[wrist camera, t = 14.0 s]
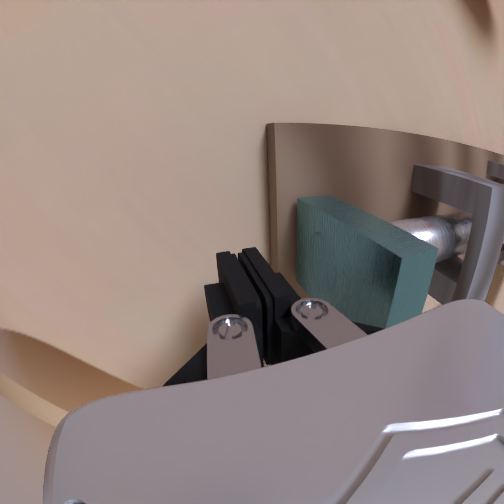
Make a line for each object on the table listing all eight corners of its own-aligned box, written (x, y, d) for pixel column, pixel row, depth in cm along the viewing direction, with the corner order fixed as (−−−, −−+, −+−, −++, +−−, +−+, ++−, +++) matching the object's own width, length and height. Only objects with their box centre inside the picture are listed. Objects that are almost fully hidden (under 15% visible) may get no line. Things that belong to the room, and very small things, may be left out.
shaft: (295, 280, 17) (371, 370, 10) (296, 197, 15) (402, 258, 8) (456, 241, 21) (520, 278, 14) (465, 189, 19) (536, 218, 12)
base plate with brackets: (271, 320, 19) (321, 405, 13) (266, 123, 14) (353, 118, 7) (497, 248, 28) (537, 271, 21) (512, 158, 22) (557, 174, 15)
